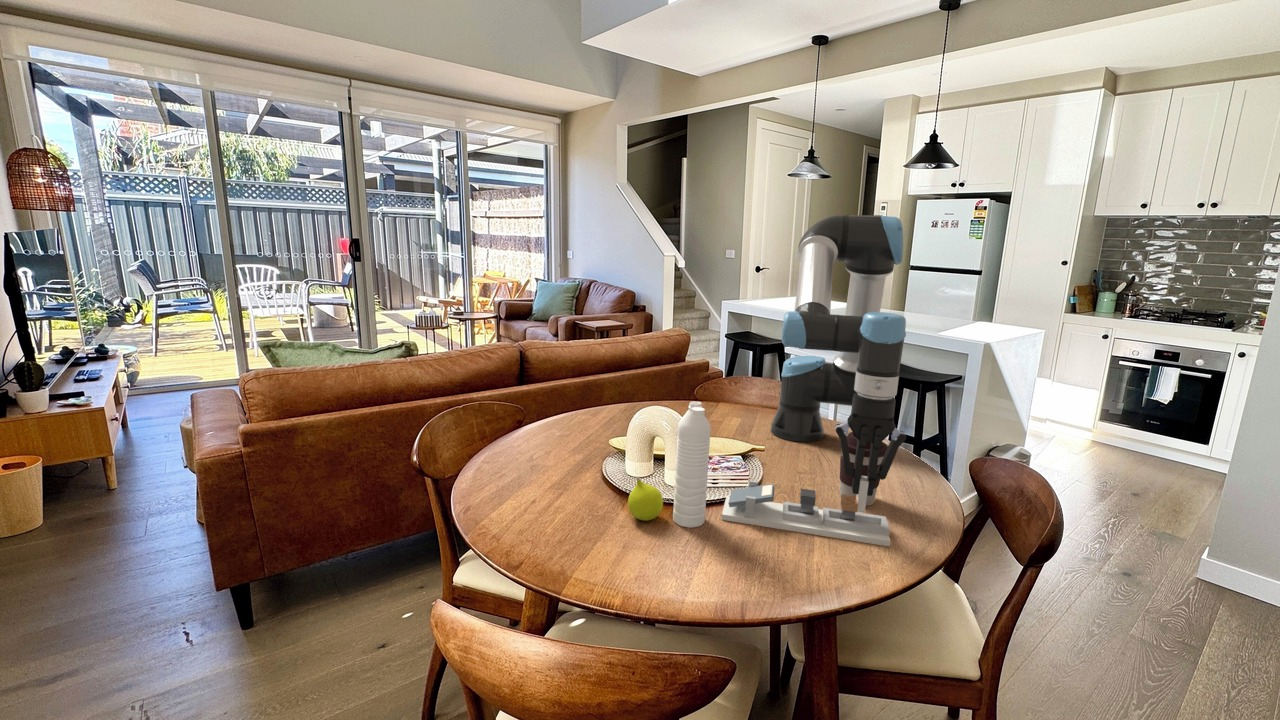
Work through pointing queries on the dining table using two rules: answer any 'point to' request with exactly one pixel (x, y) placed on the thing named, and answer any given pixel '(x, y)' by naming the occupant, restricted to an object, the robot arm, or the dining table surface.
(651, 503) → the ornament
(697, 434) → the water bottle
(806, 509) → the slider
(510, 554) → the dining table surface
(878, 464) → the coffee cup
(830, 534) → the panel
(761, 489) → the rocker
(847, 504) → the slider
